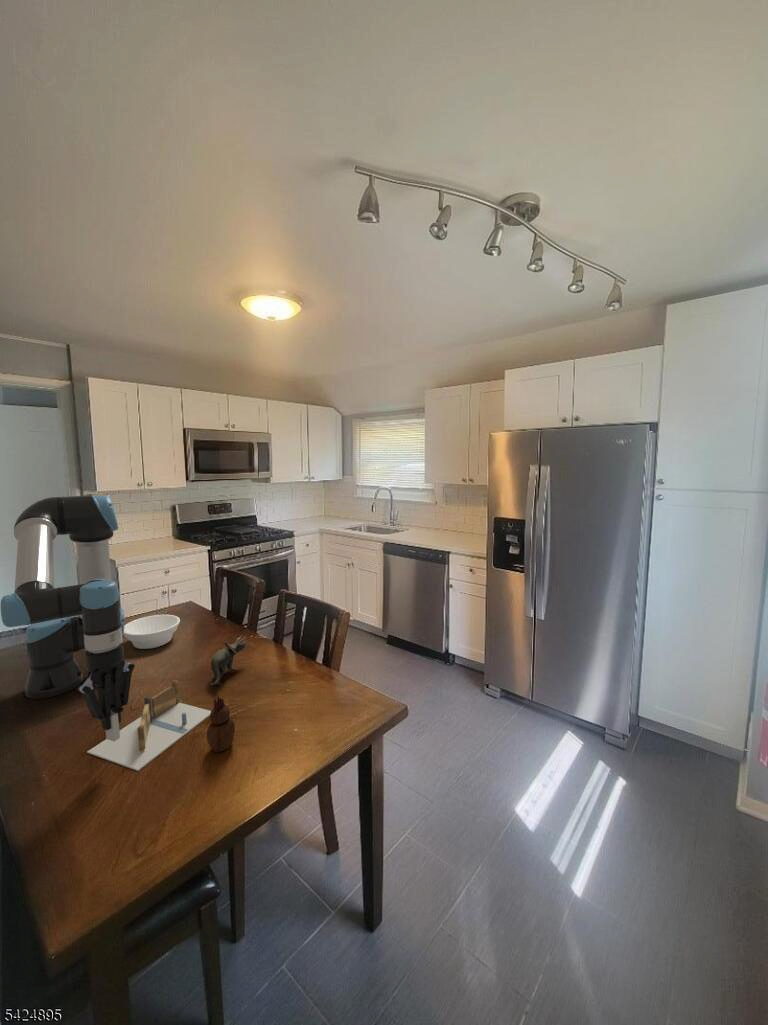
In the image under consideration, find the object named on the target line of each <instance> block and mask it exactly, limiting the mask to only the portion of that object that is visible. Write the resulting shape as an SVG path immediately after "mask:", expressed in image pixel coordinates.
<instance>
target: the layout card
mask: <svg viewBox="0 0 768 1025" xmlns="http://www.w3.org/2000/svg"><path fill="white" fill-rule="evenodd" d="M210 713H211V710H210V709H209V710H208V709H205V708H200V707H197V706H194V705H190V704H186V703H183V702H180V701H179V703H177V704H175V705H174V706H172V707H171V708H169V709H168V710H166V711H165V712H163V713H162V714H160V715H159V716H157V717H156V718H153V717H152V721H151V722H150V726H149V731H148V735H147V740H146V744H145V749H144V750H142V751H140V750H139V741H138V730H137V728H138V727H139V725H140V722H141V718H142V715H141V716H140V717H138V718H137V719H135V720H134V721H132V722H130V723H129V724H128V725H126V726H124V727H123V728H121V729H119V732H120V738H119V739H118V740H116V741H115V742H114V741H111V740H108V739H105V740H102V741H101V742H100V743H98V744H97V745H95V746H93V747H92V748H90V749H89V750H87V751H86V752H87V754H89V755H92V756H94V757H98V758H100V759H103V760H105V761H108V762H112V763H114V764H117V765H119V766H123V767H125V768H128V769H131V770H134V771H137V772H140V771H141V770H142V769H143V768H145V767H146V766H147V765H148V764H150V763H151V762H152V761H153V760H155V759H156V758H157V757H158V756H160V755H161V754H162V753H164V752H165V751H166V750H167V749H169V748H170V747H171V746H173V745H174V744H175V743H177V741H179V740H180V739H181V738H183V737H184V736H186V735H187V734H188V733H189V732H191V731H192V730H193V729H194V728H196V727H197V726H198V725H199V724H201V723H202V722H204V721H206V719H208V718H210Z"/></svg>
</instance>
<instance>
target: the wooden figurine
mask: <svg viewBox="0 0 768 1025" xmlns="http://www.w3.org/2000/svg"><path fill="white" fill-rule="evenodd" d="M210 711H211V713H210V716H209V721H210V722H211V723H210V724H209V725H208V726H207V729H206V741H207V744H208V745H209V748H210V749H211V750H212V751H213V752H214V753H215V752H216V753H221V752H224V751H226V750H228V749H229V748H230V746H232V744H233V742H234V739H235V733H236V732H235V730H236V729H235V728H236V727H235V722H234V720H233V718H232V717H230V713H231V711H230V708H229V705H226V704H225V700H224V698H222V697H219V696H217V699H216V697H213V708H212V709H211V710H210Z"/></svg>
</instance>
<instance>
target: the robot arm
mask: <svg viewBox="0 0 768 1025" xmlns="http://www.w3.org/2000/svg"><path fill="white" fill-rule="evenodd" d="M118 530H119V525H118V521H117V516H116V512H115V508H114V505H113V500H112V498H111V497H110V496H108V495H103V494H101V495H99V494H98V495H97V494H96V495H95V494H91V495H90V494H87V495H74V496H72V495H71V496H54V497H53V496H52V497H47V498H43V499H41V500H38V501H36V502H34V503H32V504H31V505H29V506H28V507H27V508H25V509H24V510H23V511H22V512H21V514H20V515H19V516H18V517H17V519H16V521H15V523H14V526H13V536H14V538H15V539H16V541H17V550H16V566H15V580H14V593H11V594H7V595H4V596H3V597H2V598H1V599H0V617H1V621H2V624H3V626H5V627H6V628H14V627H15V628H16V627H21V626H22V627H23V626H28V627H26V631H25V643H26V647H27V649H26V650H27V656H28V665H29V673H28V675H27V680H26V684H25V685H24V694H25V696H26V697H27V698H29V699H32V700H41V699H49V698H52V697H57V696H60V695H62V694H66V693H68V692H70V691H72V690H74V689H76V690H77V691H78V692H79V693H81V694H82V696H83V699H84V701H85V703H86V706H87V708H88V711H89V713H90V715H91V717H92V718H94V719H96V720H101V728H102V729H103V730H105V738H106V739H108V740H111V741H114V742H115V741H116V740H118V739H119V738H120V732H119V731H120V725H119V724H120V723H121V722H122V717H121V716H122V714H121V713H123V711H124V710H125V709H124V708H123V707H124V706H127V705H128V703H129V698H130V697H129V696H130V689H131V682H132V673H133V671H134V668H135V665H136V664H135V663H130V662H126V661H125V659H124V658H125V650H124V644H123V641H124V640H123V637H124V625H125V611H124V609H123V608H121V605H120V591H119V587H118V584H117V582H116V581H113V580H112V572H111V571H112V569H111V557H110V543H109V541H110V540H111V539H112V538H113V537H114V532H116V531H118ZM60 535H61V536H65V535H69V540H70V541H71V542H73V543H75V544H76V554H77V564H78V573H79V583H80V584H76V585H67V586H62V587H55V572H54V571H55V570H54V569H55V567H54V566H55V564H54V559H55V558H54V540H55V539H56V537H57V536H60ZM83 651H85V661H86V667H87V669H88V672H87V675H86V679H85V681H84V675H83V672H82V669H81V668H80V666H79V664H78V662H77V661H76V659H75V653H78V652H83ZM83 681H84V682H83ZM82 682H83V684H82ZM94 685H95V690H96V692H97V695H96V693H95V691H94ZM106 739H105V740H106Z"/></svg>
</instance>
